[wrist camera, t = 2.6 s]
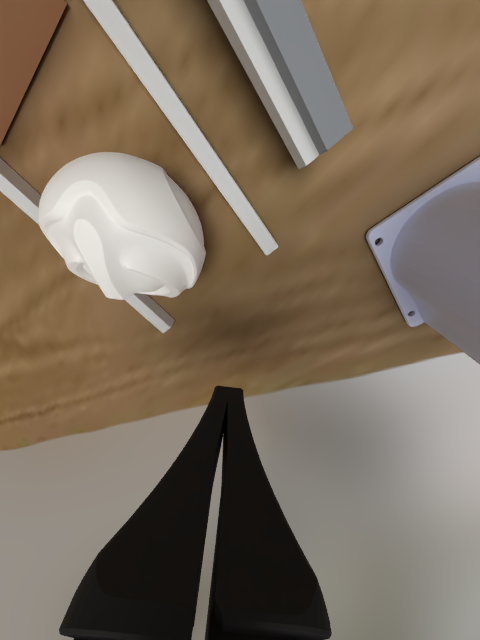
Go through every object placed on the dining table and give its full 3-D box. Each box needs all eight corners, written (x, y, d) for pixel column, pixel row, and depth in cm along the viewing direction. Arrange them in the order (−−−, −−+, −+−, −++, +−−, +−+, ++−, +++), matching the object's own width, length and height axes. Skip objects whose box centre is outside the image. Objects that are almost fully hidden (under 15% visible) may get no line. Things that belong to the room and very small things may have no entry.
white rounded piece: (115, 271, 17) (29, 320, 11) (92, 154, 13) (-67, 118, 7) (213, 284, 17) (188, 340, 11) (219, 171, 13) (186, 152, 7)
